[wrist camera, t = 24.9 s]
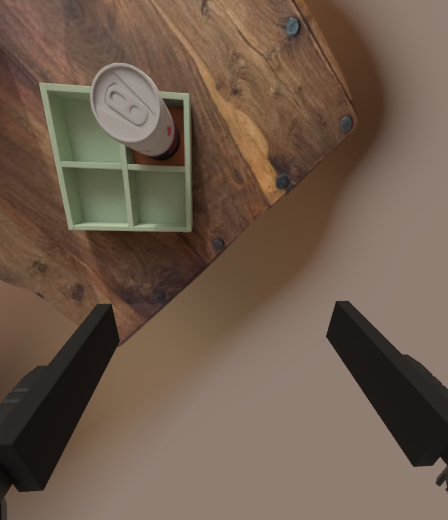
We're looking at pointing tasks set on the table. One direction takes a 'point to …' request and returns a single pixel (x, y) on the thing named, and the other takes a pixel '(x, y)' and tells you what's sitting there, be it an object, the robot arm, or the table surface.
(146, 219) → the grid
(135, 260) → the table surface
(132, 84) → the beverage can
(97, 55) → the table surface
